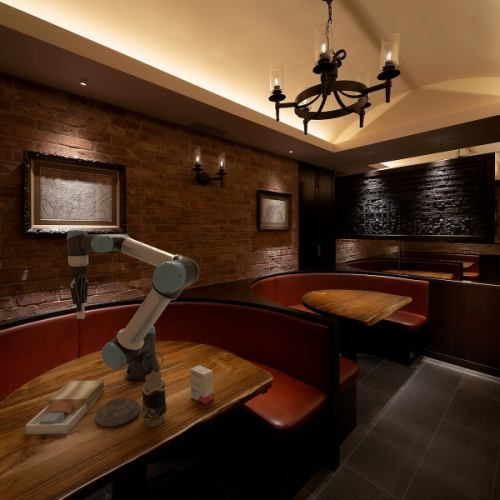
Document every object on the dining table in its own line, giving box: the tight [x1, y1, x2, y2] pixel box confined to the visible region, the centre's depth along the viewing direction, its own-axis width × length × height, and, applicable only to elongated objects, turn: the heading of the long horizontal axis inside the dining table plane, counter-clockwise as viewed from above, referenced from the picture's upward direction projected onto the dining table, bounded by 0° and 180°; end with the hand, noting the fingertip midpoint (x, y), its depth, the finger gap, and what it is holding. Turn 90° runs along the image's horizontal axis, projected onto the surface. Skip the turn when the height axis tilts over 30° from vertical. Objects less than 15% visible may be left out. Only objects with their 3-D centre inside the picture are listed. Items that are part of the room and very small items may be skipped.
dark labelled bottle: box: [140, 351, 168, 427], centre depth 101 cm, size 9×8×25 cm
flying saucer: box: [95, 397, 142, 428], centre depth 104 cm, size 15×15×6 cm
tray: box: [24, 404, 88, 435], centre depth 100 cm, size 14×12×3 cm
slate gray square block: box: [39, 412, 64, 424], centre depth 98 cm, size 5×5×3 cm
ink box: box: [189, 364, 214, 405], centre depth 114 cm, size 9×5×12 cm, turn 54°
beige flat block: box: [48, 380, 105, 412], centre depth 113 cm, size 14×13×5 cm
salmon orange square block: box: [50, 402, 74, 414], centre depth 103 cm, size 5×5×3 cm
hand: (80, 318), depth 126 cm, fingers closed
